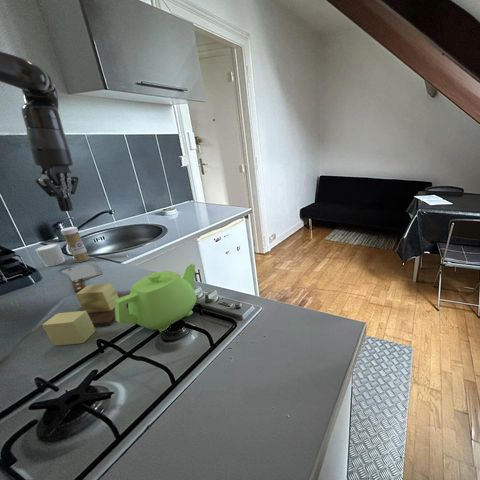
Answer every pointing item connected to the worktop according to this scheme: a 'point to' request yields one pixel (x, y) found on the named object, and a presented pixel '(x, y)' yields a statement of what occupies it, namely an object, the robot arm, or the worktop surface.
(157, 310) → the teapot
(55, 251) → the white squat cylinder
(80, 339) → the block
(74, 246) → the sprinkles bottle
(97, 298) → the butter board
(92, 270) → the kitchen cleaver
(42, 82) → the robot arm
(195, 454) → the worktop surface
